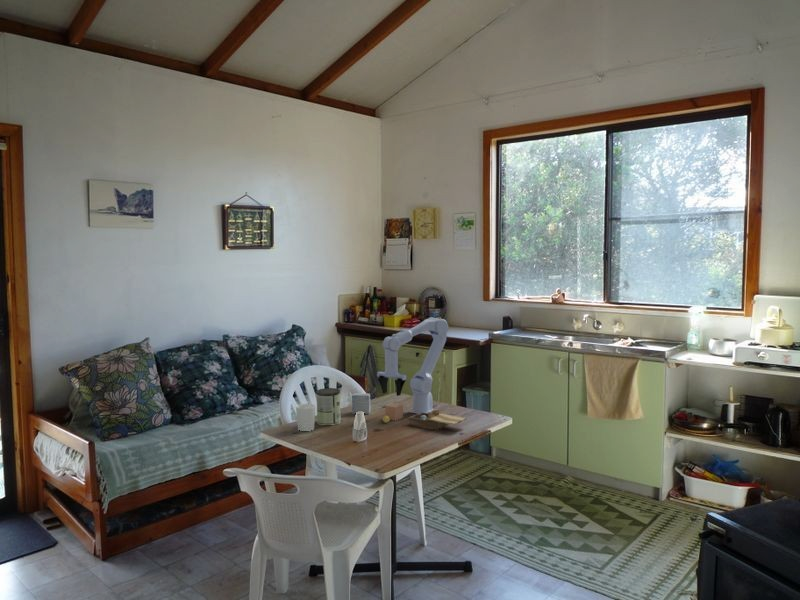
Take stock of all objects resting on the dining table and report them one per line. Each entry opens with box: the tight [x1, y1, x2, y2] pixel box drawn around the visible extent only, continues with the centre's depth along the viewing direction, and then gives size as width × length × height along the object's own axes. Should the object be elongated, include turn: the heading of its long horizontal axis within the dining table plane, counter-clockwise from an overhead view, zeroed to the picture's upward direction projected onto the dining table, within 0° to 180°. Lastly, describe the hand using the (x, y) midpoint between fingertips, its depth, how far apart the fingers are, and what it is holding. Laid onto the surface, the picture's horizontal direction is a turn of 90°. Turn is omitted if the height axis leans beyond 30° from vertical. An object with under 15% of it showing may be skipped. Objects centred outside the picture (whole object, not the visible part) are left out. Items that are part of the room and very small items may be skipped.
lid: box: [425, 408, 467, 426], centre depth 257 cm, size 10×14×3 cm
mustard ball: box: [382, 416, 391, 424], centre depth 266 cm, size 3×3×3 cm
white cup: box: [295, 403, 316, 432], centre depth 257 cm, size 8×8×10 cm
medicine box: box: [351, 392, 372, 415], centre depth 282 cm, size 8×4×9 cm, turn 84°
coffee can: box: [315, 387, 342, 426], centre depth 267 cm, size 10×10×14 cm
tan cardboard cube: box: [384, 402, 404, 422], centre depth 273 cm, size 6×6×6 cm
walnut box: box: [408, 412, 449, 431], centre depth 263 cm, size 10×14×3 cm
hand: (391, 394), depth 274 cm, fingers open, 7 cm apart
